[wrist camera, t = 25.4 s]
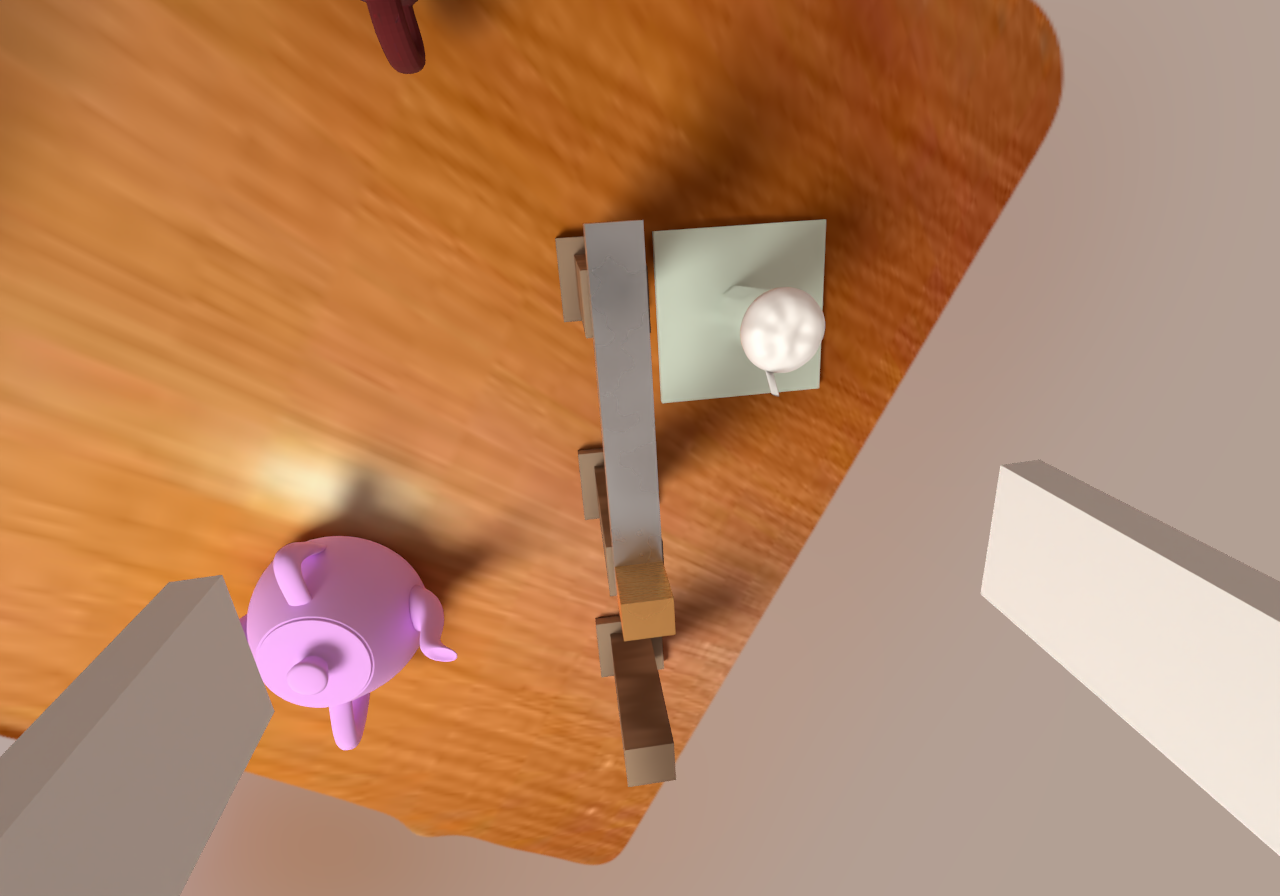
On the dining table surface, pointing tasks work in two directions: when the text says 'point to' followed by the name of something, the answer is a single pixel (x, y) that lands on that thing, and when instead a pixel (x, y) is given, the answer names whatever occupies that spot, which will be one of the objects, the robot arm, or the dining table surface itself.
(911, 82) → the dining table surface
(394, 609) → the teapot
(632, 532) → the bar
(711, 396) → the mat
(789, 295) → the milkshake
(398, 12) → the mug
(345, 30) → the dining table surface
